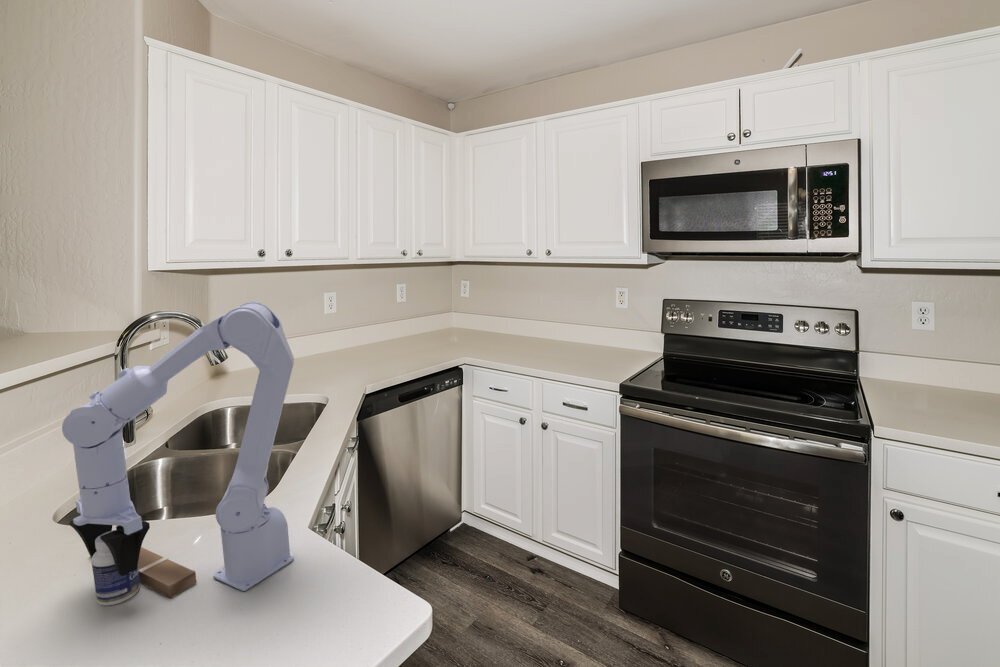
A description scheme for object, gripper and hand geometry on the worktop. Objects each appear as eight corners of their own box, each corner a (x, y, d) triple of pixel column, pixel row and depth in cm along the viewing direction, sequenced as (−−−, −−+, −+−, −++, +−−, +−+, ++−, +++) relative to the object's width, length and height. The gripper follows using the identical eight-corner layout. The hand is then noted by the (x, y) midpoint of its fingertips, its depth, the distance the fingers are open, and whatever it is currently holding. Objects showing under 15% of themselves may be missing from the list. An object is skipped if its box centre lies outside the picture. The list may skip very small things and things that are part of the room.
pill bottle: (140, 597, 77) (132, 538, 76) (95, 611, 74) (86, 550, 73) (141, 579, 81) (133, 523, 80) (98, 592, 78) (90, 533, 77)
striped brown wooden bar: (116, 545, 91) (115, 534, 91) (196, 583, 80) (195, 570, 80) (90, 557, 88) (88, 545, 88) (170, 598, 77) (168, 585, 76)
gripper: (47, 481, 75) (59, 565, 77) (97, 502, 68) (109, 594, 70) (102, 464, 81) (112, 542, 83) (153, 482, 74) (163, 567, 76)
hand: (114, 564), depth 77 cm, fingers open, 7 cm apart
